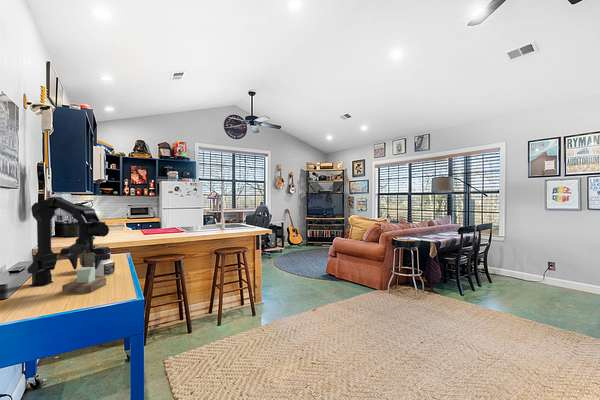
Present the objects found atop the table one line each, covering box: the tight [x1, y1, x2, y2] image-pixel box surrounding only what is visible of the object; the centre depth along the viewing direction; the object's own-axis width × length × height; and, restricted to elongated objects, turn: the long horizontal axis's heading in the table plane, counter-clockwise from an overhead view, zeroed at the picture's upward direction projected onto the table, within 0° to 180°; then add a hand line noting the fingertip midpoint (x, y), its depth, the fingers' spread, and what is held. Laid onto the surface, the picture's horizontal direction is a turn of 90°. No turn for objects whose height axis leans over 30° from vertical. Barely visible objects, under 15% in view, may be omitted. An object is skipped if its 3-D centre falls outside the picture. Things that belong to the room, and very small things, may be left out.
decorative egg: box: [78, 243, 100, 268], centre depth 169 cm, size 12×12×15 cm
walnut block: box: [61, 277, 107, 294], centre depth 136 cm, size 12×12×4 cm
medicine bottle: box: [93, 252, 116, 278], centre depth 160 cm, size 7×7×12 cm
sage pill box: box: [76, 267, 96, 283], centre depth 136 cm, size 5×5×6 cm
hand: (85, 269), depth 136 cm, fingers open, 9 cm apart
